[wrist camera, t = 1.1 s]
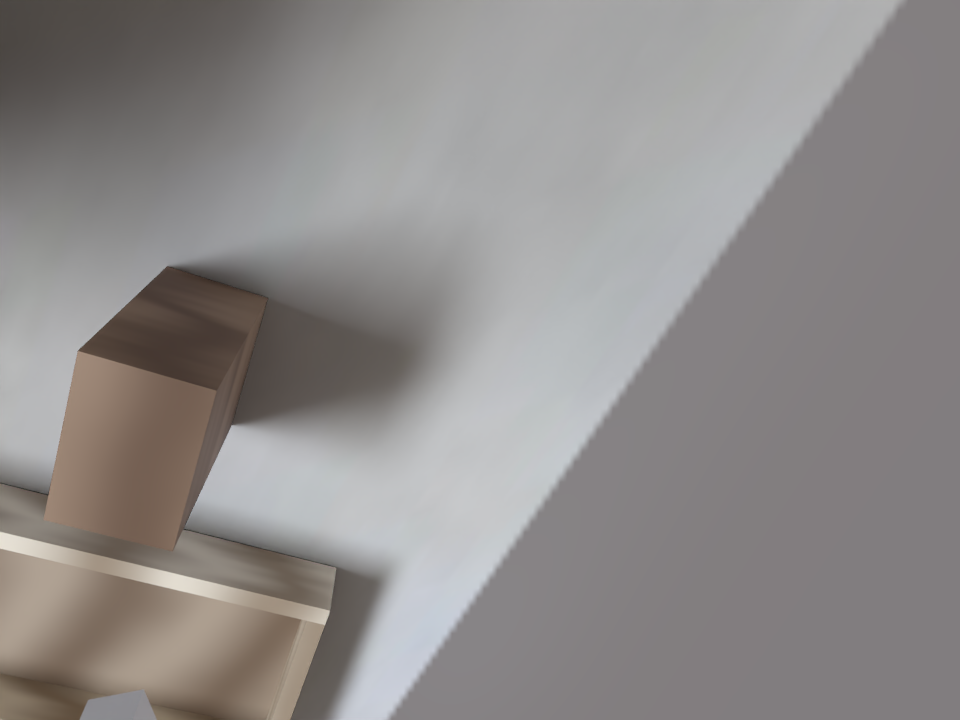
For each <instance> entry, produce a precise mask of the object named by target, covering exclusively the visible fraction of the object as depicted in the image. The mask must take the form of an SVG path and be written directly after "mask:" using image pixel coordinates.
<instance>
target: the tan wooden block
mask: <svg viewBox="0 0 960 720" xmlns="http://www.w3.org/2000/svg"><path fill="white" fill-rule="evenodd" d="M267 300H268V298H266V297H263V296H260V295H257V294H254V293H250V292H247V291H244V290H241V289H238V288H234V287H231V286H228V285H225V284H222V283H219V282H215V281H212V280H209V279H206V278H203V277H199V276H196V275H193V274H190V273H187V272H183V271H180V270H177V269H174V268H171V267H168V266H167V267H166V268H165V269H164V270H163V271H162V272H161V273H160V274H159V275H158V276H157V277H155V278H154V279H153V280H152V281H151V282H150V283H149V284H148V285H147V286H146V287H145V288H144V289H143V290H142V291H141V292H140V293H139V294H138V295H136V296H135V297H134V298H133V299H132V300H131V301H130V302H129V303H128V304H127V305H126V306H125V307H124V308H123V309H122V310H121V311H120V312H118V313H117V314H116V315H115V316H114V317H113V318H112V319H111V320H110V321H109V322H108V323H107V324H106V325H105V326H104V327H103V328H102V329H101V330H99V331H98V332H97V333H96V334H95V335H94V336H93V337H92V338H91V339H90V340H89V341H88V342H87V343H86V344H85V345H84V346H83V347H82V348H80V349H79V350H78V353H77V358H76V363H75V367H74V372H73V377H72V382H71V387H70V392H69V397H68V402H67V407H66V412H65V416H64V421H63V426H62V431H61V436H60V441H59V446H58V451H57V456H56V461H55V465H54V470H53V475H52V480H51V485H50V490H49V495H48V500H47V505H46V510H45V515H44V519H43V520H45V521H49V522H54V523H58V524H62V525H66V526H70V527H74V528H78V529H82V530H86V531H90V532H94V533H98V534H103V535H107V536H111V537H115V538H119V539H123V540H127V541H131V542H135V543H139V544H143V545H147V546H152V547H156V548H160V549H164V550H168V551H172V552H173V550H174V548H175V546H176V543H177V541H178V539H179V537H180V535H181V533H182V531H183V528H184V526H185V524H186V522H187V520H188V518H189V516H190V513H191V511H192V509H193V507H194V505H195V503H196V501H197V498H198V496H199V494H200V492H201V490H202V488H203V486H204V483H205V481H206V479H207V477H208V475H209V473H210V471H211V468H212V466H213V464H214V462H215V460H216V458H217V455H218V453H219V451H220V449H221V447H222V445H223V443H224V440H225V438H226V436H227V434H228V432H229V430H230V428H231V425H232V422H233V419H234V415H235V412H236V408H237V405H238V401H239V398H240V394H241V391H242V387H243V384H244V380H245V377H246V373H247V370H248V366H249V363H250V359H251V356H252V352H253V349H254V345H255V342H256V338H257V335H258V331H259V328H260V324H261V321H262V317H263V314H264V310H265V307H266V303H267Z"/></svg>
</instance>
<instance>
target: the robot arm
mask: <svg viewBox="0 0 960 720" xmlns="http://www.w3.org/2000/svg"><path fill="white" fill-rule="evenodd" d="M80 720H157V719H156V716H155V714H154V712H153V710H152V707H151V705H150V703H149V700H148V698H147V696H146V693H145V691H144V689H143V690H138V691H133V692H127V693H122V694H117V695H111V696H106V697H101V698H95V699H90V700H88V701H87V704H86V706H85V708H84V711H83V713H82V715H81V717H80Z"/></svg>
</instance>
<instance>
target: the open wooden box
mask: <svg viewBox="0 0 960 720" xmlns="http://www.w3.org/2000/svg"><path fill="white" fill-rule="evenodd" d="M47 500H48V495H44V494H40V493H36V492H32V491H28V490H24V489H20V488H16V487H12V486H8V485H4V484H0V720H80V717H81V715H82V713H83V711H84V708H85V706H86V704H87V701H88V700H90V699H95V698H101V697H106V696H111V695H117V694H122V693H127V692H133V691H138V690H143V689H144V691H145V693H146V696H147V698H148V700H149V703H150V705H151V707H152V710H153V712H154V714H155V716H156V719H157V720H290V719H291V716H292V714H293V711H294V708H295V705H296V703H297V700H298V697H299V695H300V692H301V689H302V686H303V684H304V681H305V678H306V675H307V673H308V670H309V667H310V665H311V662H312V659H313V656H314V654H315V651H316V648H317V646H318V643H319V640H320V637H321V635H322V632H323V629H324V627H325V624H326V621H327V618H328V616H329V613H330V609H331V602H332V595H333V589H334V582H335V575H336V567H332V566H328V565H324V564H320V563H316V562H312V561H308V560H304V559H300V558H296V557H292V556H288V555H284V554H280V553H276V552H272V551H268V550H264V549H260V548H256V547H252V546H248V545H244V544H240V543H236V542H232V541H228V540H224V539H220V538H216V537H212V536H208V535H204V534H200V533H196V532H192V531H188V530H184V529H183V531H182V533H181V535H180V537H179V539H178V541H177V543H176V546H175V548H174V550H173V552H172V551H168V550H164V549H160V548H156V547H152V546H147V545H143V544H139V543H135V542H131V541H127V540H123V539H119V538H115V537H111V536H107V535H103V534H98V533H94V532H90V531H86V530H82V529H78V528H74V527H70V526H66V525H62V524H58V523H54V522H49V521H45V520H43V519H44V515H45V510H46V505H47Z"/></svg>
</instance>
